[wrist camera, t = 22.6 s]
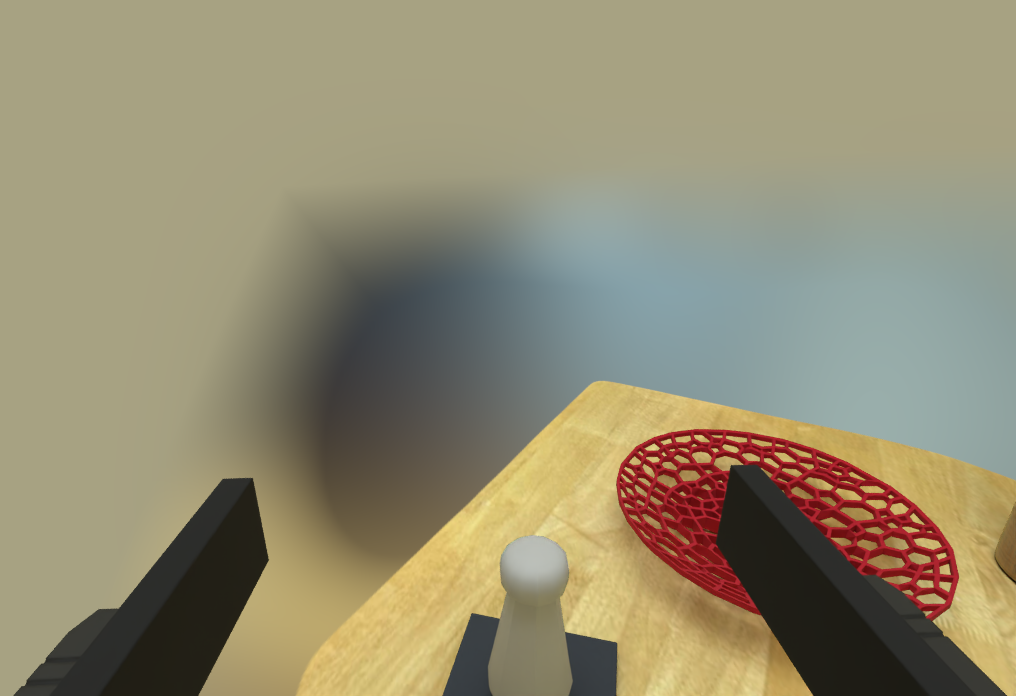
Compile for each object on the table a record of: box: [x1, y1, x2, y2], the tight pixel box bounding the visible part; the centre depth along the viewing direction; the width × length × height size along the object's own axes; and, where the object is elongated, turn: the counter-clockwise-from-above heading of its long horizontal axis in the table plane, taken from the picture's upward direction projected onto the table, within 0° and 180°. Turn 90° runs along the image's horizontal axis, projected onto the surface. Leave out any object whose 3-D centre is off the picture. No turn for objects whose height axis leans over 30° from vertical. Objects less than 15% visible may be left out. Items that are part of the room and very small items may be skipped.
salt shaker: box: [488, 535, 573, 696], centre depth 33 cm, size 6×6×13 cm
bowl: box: [616, 429, 959, 621], centre depth 50 cm, size 29×30×5 cm
